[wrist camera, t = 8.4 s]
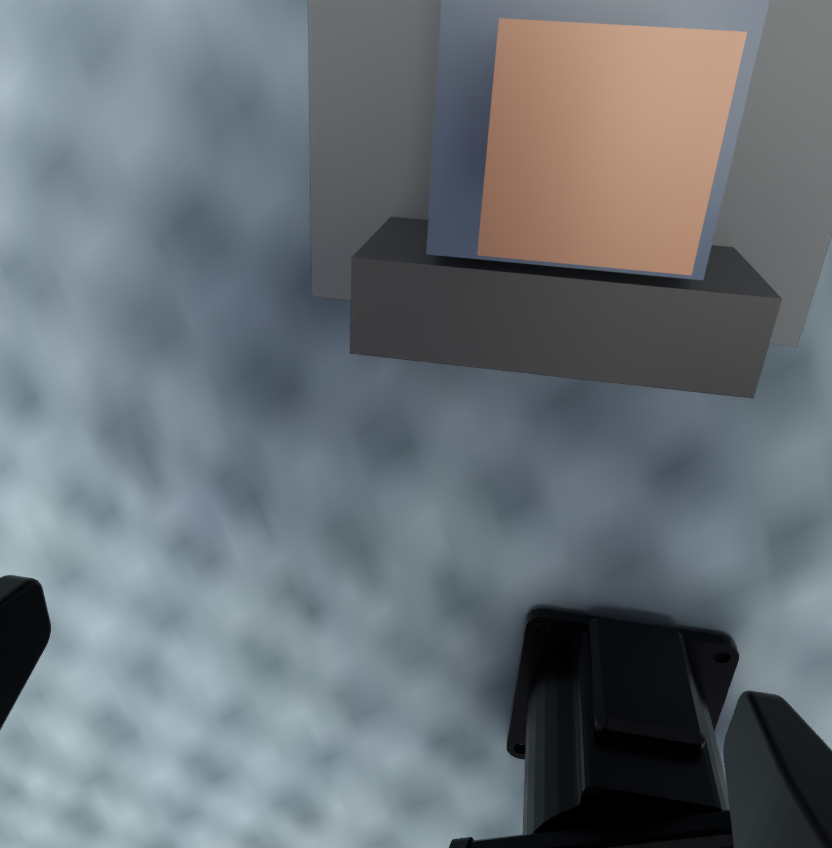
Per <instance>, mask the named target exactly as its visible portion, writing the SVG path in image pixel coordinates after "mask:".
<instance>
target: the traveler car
mask: <svg viewBox="0 0 832 848" xmlns="http://www.w3.org/2000/svg"><path fill="white" fill-rule="evenodd" d="M769 2H770V0H441V17H440V34H439V50H438V67H437V84H436V100H435V117H434V134H433V150H432V167H431V184H430V200H429V217H428V233H427V250H426V254H429V255H439V256H450V257H460V258H471V259H482V260H492V261H503V262H513V263H524V264H535V265H545V266H556V267H566V268H577V269H588V270H598V271H609V272H620V273H630V274H641V275H651V276H662V277H673V278H683V279H694V280H704V275H705V271H706V267H707V263H708V259H709V254H710V250H711V246H712V242H713V238H714V233H715V229H716V225H717V221H718V217H719V212H720V208H721V204H722V200H723V196H724V191H725V187H726V183H727V179H728V174H729V170H730V166H731V162H732V158H733V153H734V149H735V145H736V141H737V137H738V132H739V128H740V124H741V120H742V116H743V111H744V107H745V103H746V99H747V95H748V90H749V86H750V82H751V78H752V74H753V69H754V65H755V61H756V57H757V52H758V48H759V44H760V40H761V36H762V31H763V27H764V23H765V19H766V15H767V10H768V6H769Z"/></svg>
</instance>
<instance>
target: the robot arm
mask: <svg viewBox="0 0 832 848" xmlns="http://www.w3.org/2000/svg"><path fill="white" fill-rule="evenodd" d="M538 623H543V624H546V625H547V626H546V627H539V626H537V625H536V624H538ZM50 633H51V623H50V618H49V614H48V610H47V605H46V601H45V597H44V592H43V588H42V585H41V584H40V583H39V582H38V580H36V579H33V578H27V577H21V576H15V575H7V576H3V577H1V578H0V730H1V728H2V726H3V724H4V722H5V721H6V719H7V717H8V715H9V713H10V711H11V710H12V708H13V706H14V704H15V702H16V700H17V699H18V697H19V695H20V693H21V691H22V689H23V688H24V686H25V684H26V682H27V680H28V679H29V677H30V675H31V673H32V671H33V669H34V668H35V666H36V664H37V662H38V660H39V658H40V657H41V655H42V653H43V651H44V649H45V647H46V645H47V643H48V641H49V638H50ZM718 651H726V652H725V653H722V654H716V652H718ZM738 661H739V653H738V650H737V646H736V644H735V642H734V641H733V640H732V639H731V638H729V637H726V636H722V635H715V634H709V633H702V632H695V631H689V630H682V629H675V628H669V627H662V626H655V625H648V624H642V623H635V622H628V621H622V620H615V619H608V618H602V617H595V616H588V615H581V614H575V613H568V612H561V611H555V610H548V609H536V610H533V611H531V612H530V613H529V614H528V615H527V618H526V622H525V628H524V635H523V641H522V647H521V653H520V660H519V666H518V672H517V679H516V685H515V691H514V697H513V704H512V710H511V716H510V723H509V729H508V735H507V751H508V752H509V754H510V755H512V756H513V757H516V758H519V759H524V760H525V780H524V808H523V835H516V836H507V837H499V838H491V839H482V840H473V838H472V837H468V838H460V839H453V840H452V841H451V844H450V847H449V848H832V750H831V749H830V748H829V747H828V746H827V745H826V743H825V742H824V741H823V740H822V739H821V738H820V737H819V736H818V735H817V734H816V733H815V732H814V731H813V729H812V728H811V727H810V726H809V725H808V724H807V723H806V722H805V721H804V720H803V719H802V718H801V717H800V715H799V714H798V713H797V712H796V711H795V710H794V709H793V708H792V707H791V706H790V705H789V704H788V703H787V702H786V701H785V700H784V699H783V698H782V697H780V696H778V695H775V694H768V693H762V692H756V691H745V692H743V693H742V695H741V696H740V698H739V700H738V703H737V706H736V708H735V711H734V714H733V717H732V720H731V722H730V725H729V728H728V731H727V734H726V737H725V742H724V763H725V772H726V779H725V775H724V771H723V767H722V762H721V758H720V754H719V750H718V746H717V742H716V738H715V733H714V730H715V728H716V725H717V722H718V719H719V716H720V713H721V710H722V707H723V704H724V701H725V698H726V696H727V693H728V690H729V687H730V684H731V681H732V678H733V675H734V672H735V669H736V666H737V663H738ZM520 744H523V745H520ZM726 781H727V783H726Z"/></svg>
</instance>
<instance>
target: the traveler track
mask: <svg viewBox="0 0 832 848" xmlns="http://www.w3.org/2000/svg"><path fill="white" fill-rule="evenodd" d="M440 17H441V0H308V39H309V122H310V204H311V286H312V297H322V298H332V299H341V300H351V322H350V353H351V354H360V355H369V356H378V357H386V358H395V359H404V360H413V361H422V362H431V363H440V364H449V365H458V366H467V367H476V368H485V369H494V370H503V371H512V372H521V373H530V374H538V375H547V376H556V377H565V378H574V379H583V380H592V381H601V382H610V383H619V384H628V385H637V386H646V387H655V388H664V389H673V390H682V391H691V392H699V393H708V394H717V395H726V396H735V397H744V398H753V397H754V394H755V391H756V387H757V384H758V380H759V377H760V373H761V370H762V367H763V363H764V360H765V356H766V353H767V349H768V346H769V344H778V345H788V346H798V342H799V339H800V336H801V333H802V330H803V326H804V323H805V320H806V317H807V313H808V310H809V307H810V304H811V301H812V297H813V294H814V291H815V288H816V284H817V281H818V278H819V275H820V272H821V268H822V265H823V262H824V259H825V256H826V252H827V249H828V246H829V243H830V239H831V236H832V0H770V2H769V6H768V10H767V15H766V19H765V23H764V27H763V31H762V36H761V40H760V44H759V48H758V52H757V57H756V61H755V65H754V69H753V74H752V78H751V82H750V86H749V90H748V95H747V99H746V103H745V107H744V111H743V116H742V120H741V124H740V128H739V132H738V137H737V141H736V145H735V149H734V153H733V158H732V162H731V166H730V170H729V174H728V179H727V183H726V187H725V191H724V196H723V200H722V204H721V208H720V212H719V217H718V221H717V225H716V229H715V233H714V238H713V242H712V246H711V250H710V254H709V259H708V263H707V267H706V271H705V275H704V280H694V279H683V278H673V277H662V276H651V275H641V274H630V273H620V272H609V271H598V270H588V269H577V268H566V267H556V266H545V265H535V264H524V263H513V262H503V261H492V260H482V259H471V258H460V257H450V256H439V255H429V254H426V250H427V233H428V217H429V200H430V184H431V167H432V150H433V134H434V117H435V100H436V84H437V67H438V50H439V34H440Z"/></svg>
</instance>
